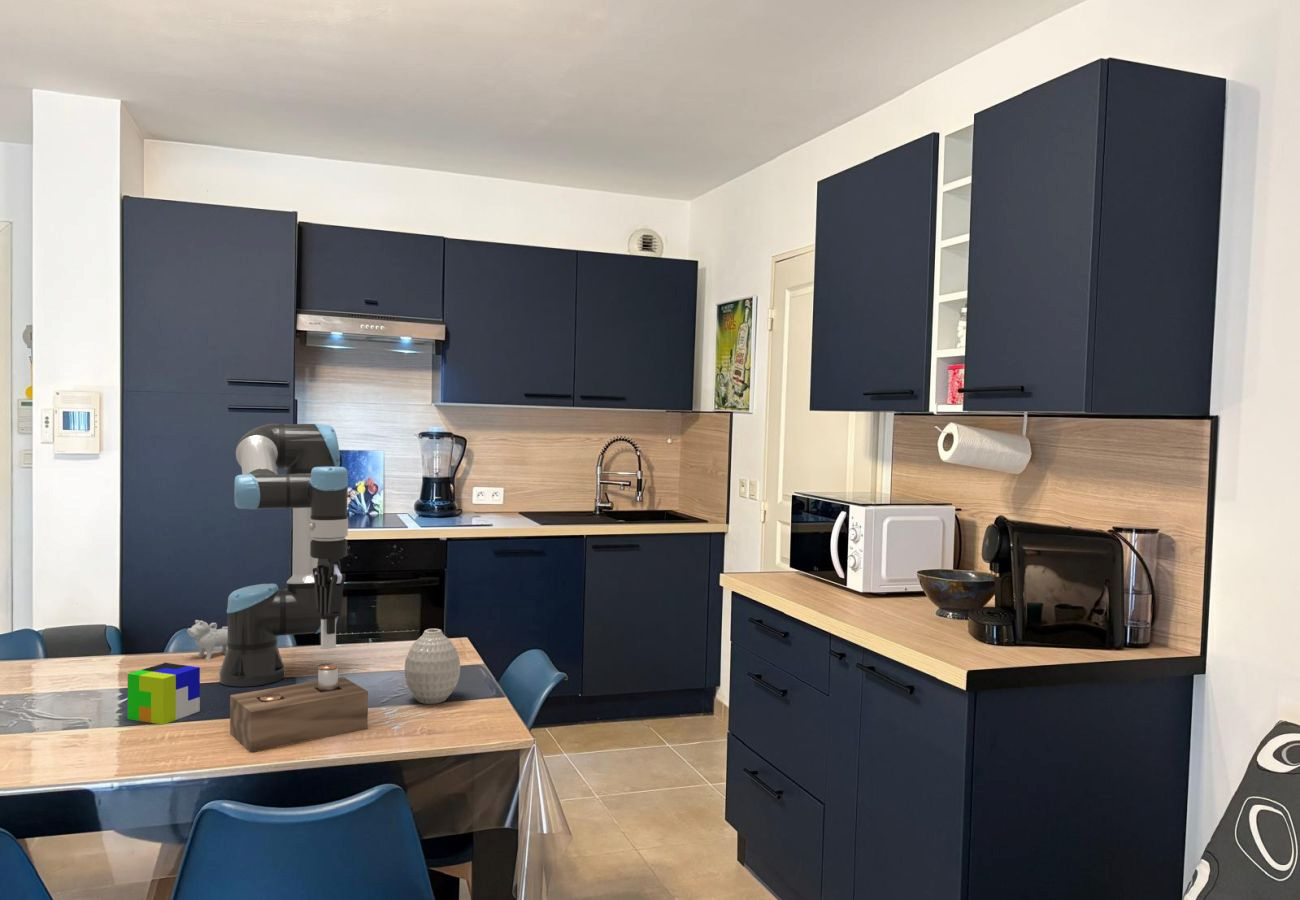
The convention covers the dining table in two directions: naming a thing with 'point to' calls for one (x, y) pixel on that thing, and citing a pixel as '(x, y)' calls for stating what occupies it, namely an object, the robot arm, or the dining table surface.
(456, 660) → the vase
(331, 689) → the peg
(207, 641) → the dog figurine
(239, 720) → the socket block
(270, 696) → the peg
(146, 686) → the puzzle toy
